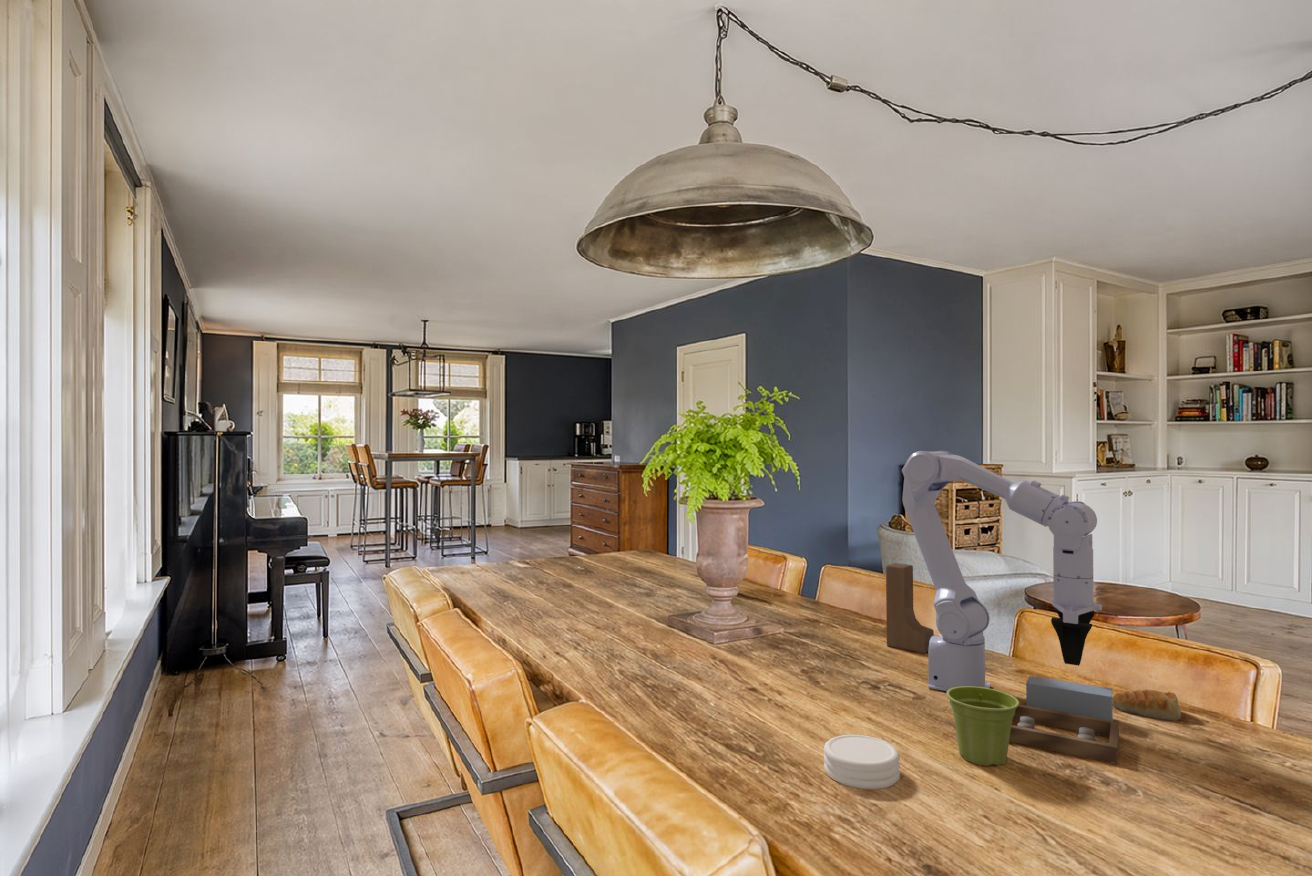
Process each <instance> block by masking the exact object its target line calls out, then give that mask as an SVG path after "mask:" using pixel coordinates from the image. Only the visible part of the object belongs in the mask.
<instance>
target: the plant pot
mask: <svg viewBox="0 0 1312 876" xmlns="http://www.w3.org/2000/svg"><path fill="white" fill-rule="evenodd" d="M946 697H947V699H948V700H949V701H950V706H951V708H952V713H953V719H954V720H953V721H954V726H955V732H956V739H957V746H958V752H959V753H958V754H959V755H960V756H962V757H963V758H964V759H965V761H968V762H970V763H972V764H977V765H980V766H986V767H989V766H991V765H997V766H1002V765H1004V764H1006V762H1007V760H1008V751H1009V743H1010V741H1009V738H1010V731H1011V725H1013V720H1014V719H1013V716H1014V715H1015V709H1016V708H1017V707H1018V706H1019V704H1020V701H1019V700H1018V699H1017V697H1016V696H1013V695H1011V694H1010V693H1007V692H1004V691H1001V690H997V689H994V688H984V687H974V686H960V687H954V688H951V689H949V690H947V691H946Z"/></svg>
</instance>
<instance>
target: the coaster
mask: <svg viewBox="0 0 1312 876" xmlns="http://www.w3.org/2000/svg"><path fill="white" fill-rule="evenodd" d="M823 752H824V755H823V761H824V763H823V768H824V771H825V773H826V774H827V775H828V777H830V778H831V779H833V780H834V781H835V782H837V783H839V784H842V785H844V786H848V787H851V788H856V789H861V790H881V789H886V788H890V787H891V786H893V785H895V784H897V782H898V781H899V779H900V776H901V773H900V767H901V765H900V758H901V757H900V752H899V751H898V750H897V748H896V747H895V746H893V745H892V744H891V743H889V742H887V741H885V740H883V739H880V738H877V737H873V736H869V735H868V736H867V735H862V734H844V735H842V734H841V735H838V736H834V737H832V738H830V739H828V740H827V741H826V742H825V744H824V746H823Z"/></svg>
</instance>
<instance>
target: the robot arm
mask: <svg viewBox="0 0 1312 876" xmlns="http://www.w3.org/2000/svg"><path fill="white" fill-rule="evenodd" d="M901 473H902V474H903V477H904V478H903V479H904V480H903V488H902V489H903V490H902V505H903V507H904V511H905V513H906V515H907V518H908V520H909V523H910V526H911V528H912V531H913V533H914V537H915V538H916V542H917V544H918V547H919V549H920V552H921V554H922V557H923V560H924V562H925V565H926V567H927V571H928V573H929V575H930V578H931V582H932V583H933V586H934V588H935V591H936V592H935V596H934V601H933V606H934V609H935V614H936V617H935V625H936V628H937V631H938V633H939V634H940V635H934V636H932V637H931V639H930V642H929V650H928V653H927V654H928V655H927V657H928V667H927V668H928V671H927V672H928V683H927V688H928V689H930V690H931V689H932V690H938V691H944V692H947V690H949V689H951V688H954V687H960V686H974V687H984V688H990V687H991V685H992V684H991V682H988V681H987V682H986V645H985V643H986V641H985V639H986V638H985V636H984V631H985V630H986V629H987V628H988V627H989V626H990V618H991V617H990V613H989V610H988V609H987V607H986V606H985V605H984V604H983V603H982V602H981V600H979V598H978V596H977V594H976V592H975V590H973V588H971V587H970V586H969V585H968V584H967V583H966V581H965V579H964V576H963V574H962V570H961V569H960V566H959V564H958V561H957V559H956V555H955V553H954V551H953V548H952V545H951V543H950V541H949V537H948V535H947V534H946V531H945V528H944V525H943V523H942V520H941V518H940V515H939V512H938V511H937V508H936V504H935V502H936V501H937V499H938V497H939V495H940V493H941V492H942V490H943V489H945V487H947V486H948V485H949V484H950V483H951V482H954V481H955V482H959V481H961V482H964V483H967V484H969V485H970V486H971V485H972V486H973V487H976V488H978V489H981V490H983V491H985V492H988V493H990V494H992V495H995V496H997V497H999V498H1002V499H1004V500H1005V502H1006V505H1007V508H1009V510H1011V512H1015V513H1017V514H1018V515H1021V516H1023V517H1024V518H1027V519H1029V520H1031V521H1033V522H1035V523H1037V524H1039V525H1041V526H1043V527H1045V528H1046V527H1048V529H1049V531H1050V532H1051V534H1052V535H1053V547H1052V553H1053V556H1052V557H1053V558H1052V559H1053V561H1052V562H1053V563H1052V564H1053V566H1052V567H1053V571H1052V572H1053V575H1052V576H1053V577H1052V580H1053V581H1052V583H1053V585H1052V586H1053V589H1052V590H1053V593H1052V595H1053V596H1052V597H1053V599H1052V600H1051V601H1052V602H1051V605H1052V606H1053V608H1055V611H1056V613H1057V615H1058V617H1051V619H1050V623H1051V625H1052V627H1053V629H1054V631H1055V632H1056V633H1055V634H1056V635H1057V638H1058V640H1059V646H1060V650H1061V654H1062V659H1063V663H1064V664H1066V665H1073V666H1079V667H1080V665H1081V662H1082V657H1083V652H1084V649H1085V644H1086V639H1087V636H1088V635H1089V633H1090V631H1091V629H1092V627H1093V624H1092V623H1091V621H1092V620H1093V618H1094V616H1095V611H1103V605H1102V604H1100V603H1094V549H1093V534H1092V532H1093V531H1094V530H1095V529H1096V527H1097V525H1098V518H1097V517H1098V516H1097V514H1096V512H1095V511H1094V509H1093V508H1092V507H1090V506H1089V505H1087V504H1085V502H1084V501H1078V500H1076V501H1075V500H1073V501H1069V499H1070V496H1067V495H1066V494H1061V495H1059V494H1057V493H1054V492H1053V491H1050V490H1048V489H1046V488H1043V487H1041V486H1042V483H1041V482H1039V481H1038V480H1037V481H1036V480H1031V481H1028V480H1022V481H1019V482H1013V481H1011V480H1009V479H1007V478H1006V477H1004V476H1001V475H999V474H997V473H996V472H994V471H992V470H990V469H988V468H986V467H983V466H982V465H979V464H977V463H975V462H973V461H971V460H970V459H968V458H965V457H963V456H962V455H957V454H952V452H949V451H947V450H937V451H925V450H919V451H916V452H913V453H912V454H910V456H909V457H908V458H907V461H906V462H905V464H904V466H903V468H902V469H901ZM990 689H991V688H990Z"/></svg>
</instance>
